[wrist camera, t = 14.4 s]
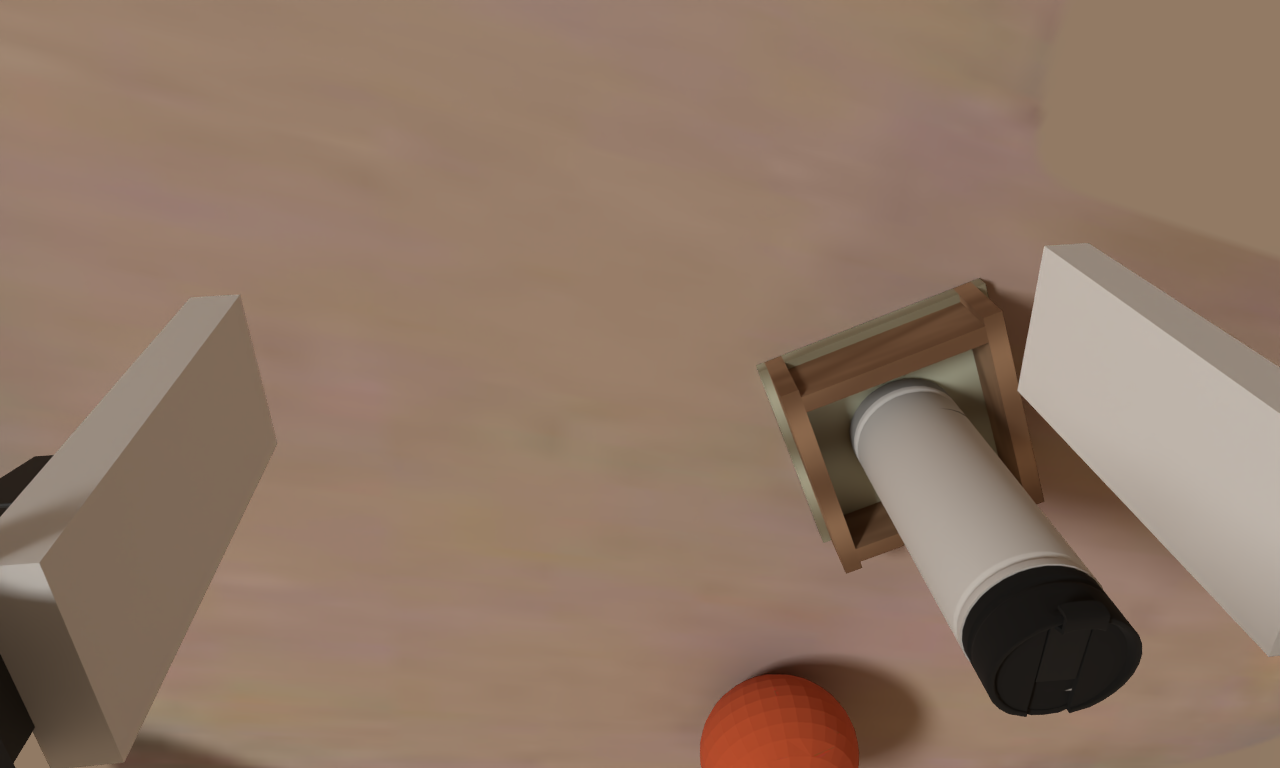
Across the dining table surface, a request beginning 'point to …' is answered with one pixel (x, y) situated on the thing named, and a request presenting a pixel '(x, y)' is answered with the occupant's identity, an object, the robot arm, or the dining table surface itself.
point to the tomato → (778, 727)
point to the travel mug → (991, 556)
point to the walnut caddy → (871, 357)
